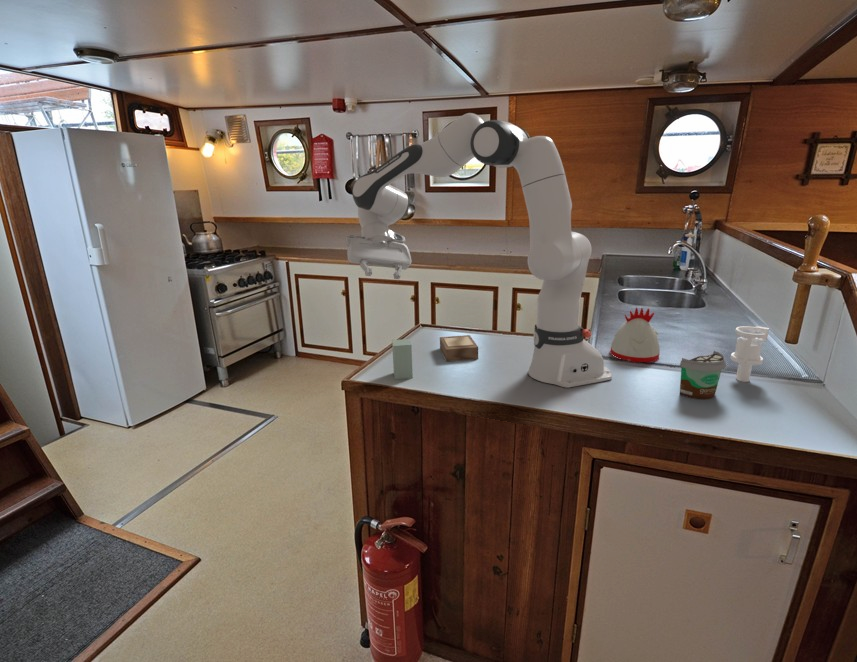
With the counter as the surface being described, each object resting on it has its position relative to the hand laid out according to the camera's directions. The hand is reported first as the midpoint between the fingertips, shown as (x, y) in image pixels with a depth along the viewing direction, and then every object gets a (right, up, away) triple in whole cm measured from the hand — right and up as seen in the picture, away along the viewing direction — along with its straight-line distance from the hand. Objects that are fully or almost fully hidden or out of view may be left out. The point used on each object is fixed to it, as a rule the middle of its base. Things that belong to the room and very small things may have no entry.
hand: (383, 276), depth 143 cm
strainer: (+98, -30, -15) cm, 103 cm away
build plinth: (+23, -24, +9) cm, 34 cm away
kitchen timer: (+77, -24, +5) cm, 81 cm away
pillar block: (+6, -29, -6) cm, 30 cm away
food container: (+82, -33, -24) cm, 92 cm away
